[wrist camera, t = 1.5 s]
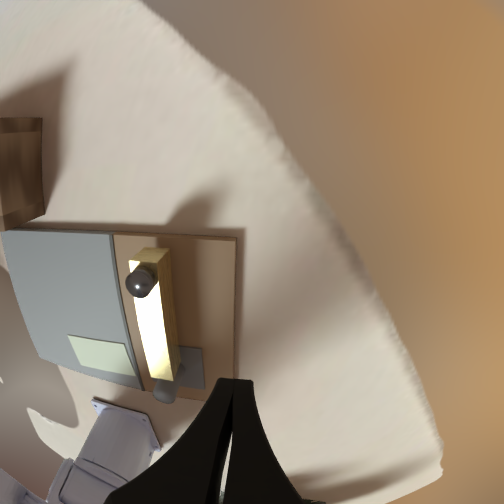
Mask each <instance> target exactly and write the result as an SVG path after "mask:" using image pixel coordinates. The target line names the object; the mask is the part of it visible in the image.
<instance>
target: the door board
mask: <svg viewBox="0 0 504 504" xmlns="http://www.w3.org/2000/svg"><path fill="white" fill-rule="evenodd" d="M1 237H2V242H3V247H4V252H5V257H6V261H7V265H8V269H9V273H10V277H11V281H12V284H13V288H14V291H15V294H16V298H17V301H18V304H19V307H20V309H21V313H22V315H23V318H24V321H25V324H26V326H27V329H28V331H29V334H30V336H31V339H32V341H33V343H34V346H35V348H36V350H37V352H38V355H39V357H40V358H42V359H45V360H47V361H50V362H52V363H55V364H57V365H60V366H63V367H66V368H68V369H71V370H74V371H77V372H80V373H83V374H86V375H89V376H92V377H96V378H99V379H102V380H106V381H109V382H113V383H117V384H120V385H124V386H128V387H132V388H136V389H141V390H142V391H150V392H153V396H154V397H155V398H156V399H157V400H158V401H160V402H163V403H167V404H170V403H173V402H174V400H175V398H176V397H181V398H188V399H194V400H201V401H207V399H208V398H209V396H210V394H211V392H212V390H213V388H214V386H215V384H216V381H217V379H218V378H220V377H221V378H231V379H234V323H235V278H236V243H237V238H233V237H216V236H198V235H179V234H159V233H138V232H115V231H91V230H64V229H32V228H12V229H10V230H8V231H6V232H1ZM144 247H155V248H170V256H171V271H172V284H173V295H174V306H175V315H176V324H177V333H178V341H179V348H180V356H181V362H180V365H179V368H178V370H177V373H176V376H175V378H174V381H170V380H164V379H159V378H154V377H151V375H150V371H149V367H148V363H147V359H146V354H145V350H144V346H143V341H142V336H141V332H140V327H139V322H138V316H137V311H136V305H135V299H134V296H132V295H131V294H130V293H129V292H128V290H127V288H126V285H125V280H126V277H127V276H128V275H129V274H130V273H131V272H130V265H129V260H130V259H131V258H132V257H134V256H135V255H136V254H137V253H138V252H139V251H141V250H142V249H143V248H144Z"/></svg>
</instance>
